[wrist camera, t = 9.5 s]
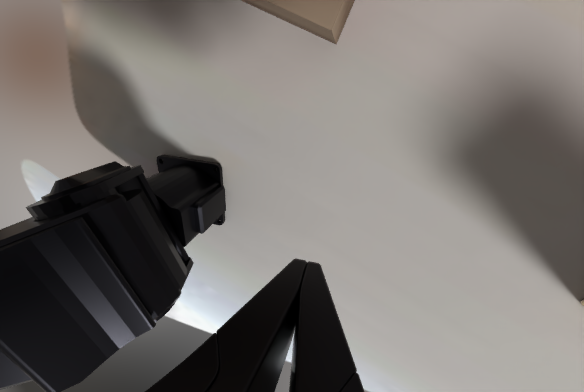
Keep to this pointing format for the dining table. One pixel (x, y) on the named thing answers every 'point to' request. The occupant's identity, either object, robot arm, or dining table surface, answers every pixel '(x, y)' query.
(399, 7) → the dining table surface
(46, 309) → the robot arm
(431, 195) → the dining table surface
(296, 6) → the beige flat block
